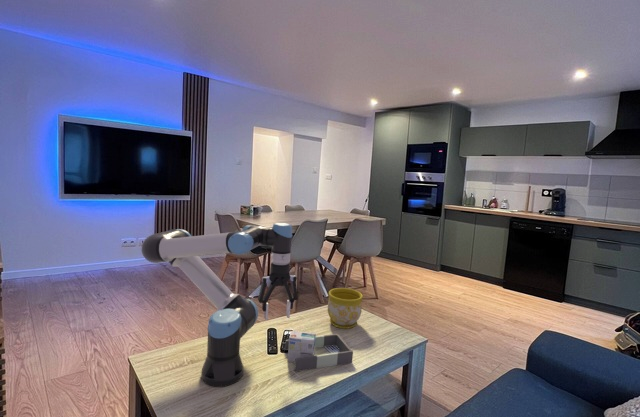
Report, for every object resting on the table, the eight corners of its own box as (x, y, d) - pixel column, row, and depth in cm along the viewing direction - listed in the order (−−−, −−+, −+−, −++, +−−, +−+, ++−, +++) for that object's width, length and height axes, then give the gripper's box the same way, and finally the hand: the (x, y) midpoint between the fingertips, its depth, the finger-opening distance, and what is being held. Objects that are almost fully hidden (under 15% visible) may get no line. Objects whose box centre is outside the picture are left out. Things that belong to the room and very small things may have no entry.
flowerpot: (343, 335, 163) (346, 303, 161) (319, 321, 176) (321, 291, 174) (367, 325, 175) (370, 295, 173) (342, 313, 188) (345, 285, 186)
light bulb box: (314, 356, 142) (316, 332, 141) (312, 365, 135) (314, 340, 134) (290, 353, 143) (291, 329, 142) (286, 362, 136) (288, 337, 135)
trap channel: (295, 371, 130) (295, 359, 130) (284, 350, 144) (285, 340, 144) (352, 362, 139) (353, 351, 139) (336, 344, 154) (337, 333, 153)
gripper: (255, 266, 123) (252, 324, 126) (308, 264, 131) (304, 319, 133) (251, 260, 130) (248, 316, 132) (302, 259, 138) (299, 311, 140)
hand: (277, 317), depth 133 cm, fingers open, 8 cm apart
